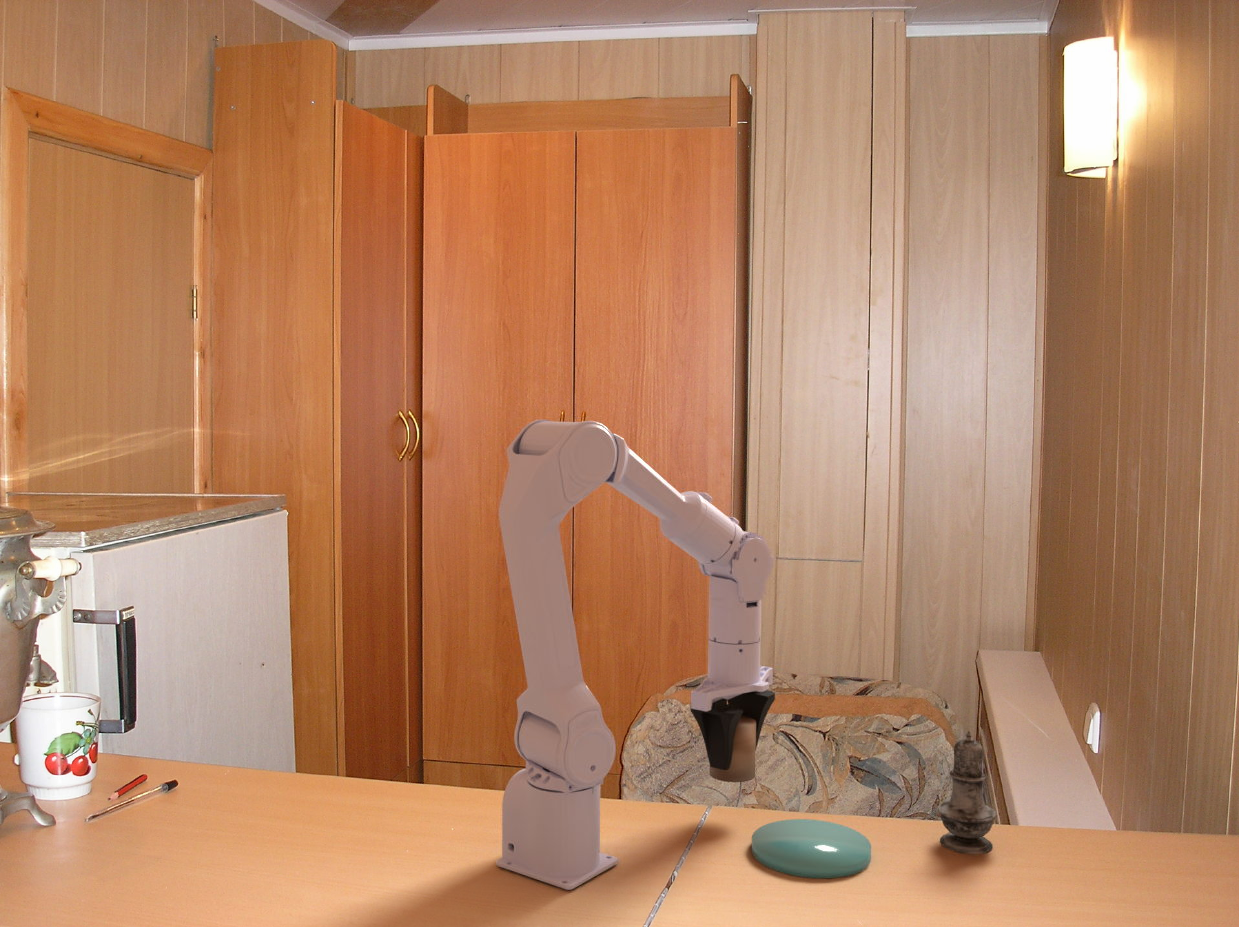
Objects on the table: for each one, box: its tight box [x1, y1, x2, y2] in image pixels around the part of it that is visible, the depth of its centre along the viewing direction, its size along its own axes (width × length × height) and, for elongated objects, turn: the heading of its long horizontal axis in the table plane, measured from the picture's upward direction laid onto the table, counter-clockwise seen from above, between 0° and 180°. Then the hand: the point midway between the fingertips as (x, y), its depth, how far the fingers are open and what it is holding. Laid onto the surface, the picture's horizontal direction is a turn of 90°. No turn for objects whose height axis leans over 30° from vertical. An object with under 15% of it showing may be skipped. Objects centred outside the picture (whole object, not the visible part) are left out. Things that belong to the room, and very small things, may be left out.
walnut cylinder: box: [709, 715, 757, 783], centre depth 119 cm, size 5×5×6 cm
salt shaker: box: [937, 730, 997, 855], centre depth 113 cm, size 6×6×12 cm
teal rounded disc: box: [751, 818, 872, 879], centre depth 111 cm, size 12×12×1 cm
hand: (732, 761), depth 119 cm, fingers closed on walnut cylinder, 5 cm apart
